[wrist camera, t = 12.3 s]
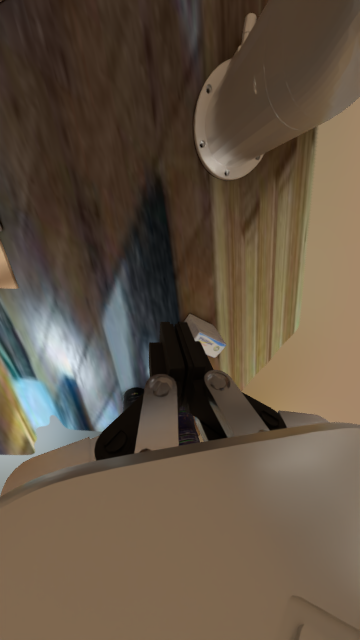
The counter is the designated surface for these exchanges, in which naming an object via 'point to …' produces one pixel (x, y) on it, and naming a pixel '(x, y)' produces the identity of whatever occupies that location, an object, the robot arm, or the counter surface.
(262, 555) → the robot arm
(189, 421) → the dark purple cylinder
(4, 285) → the wooden cutting board
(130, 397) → the supplement bottle
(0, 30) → the counter surface
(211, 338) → the medicine box
